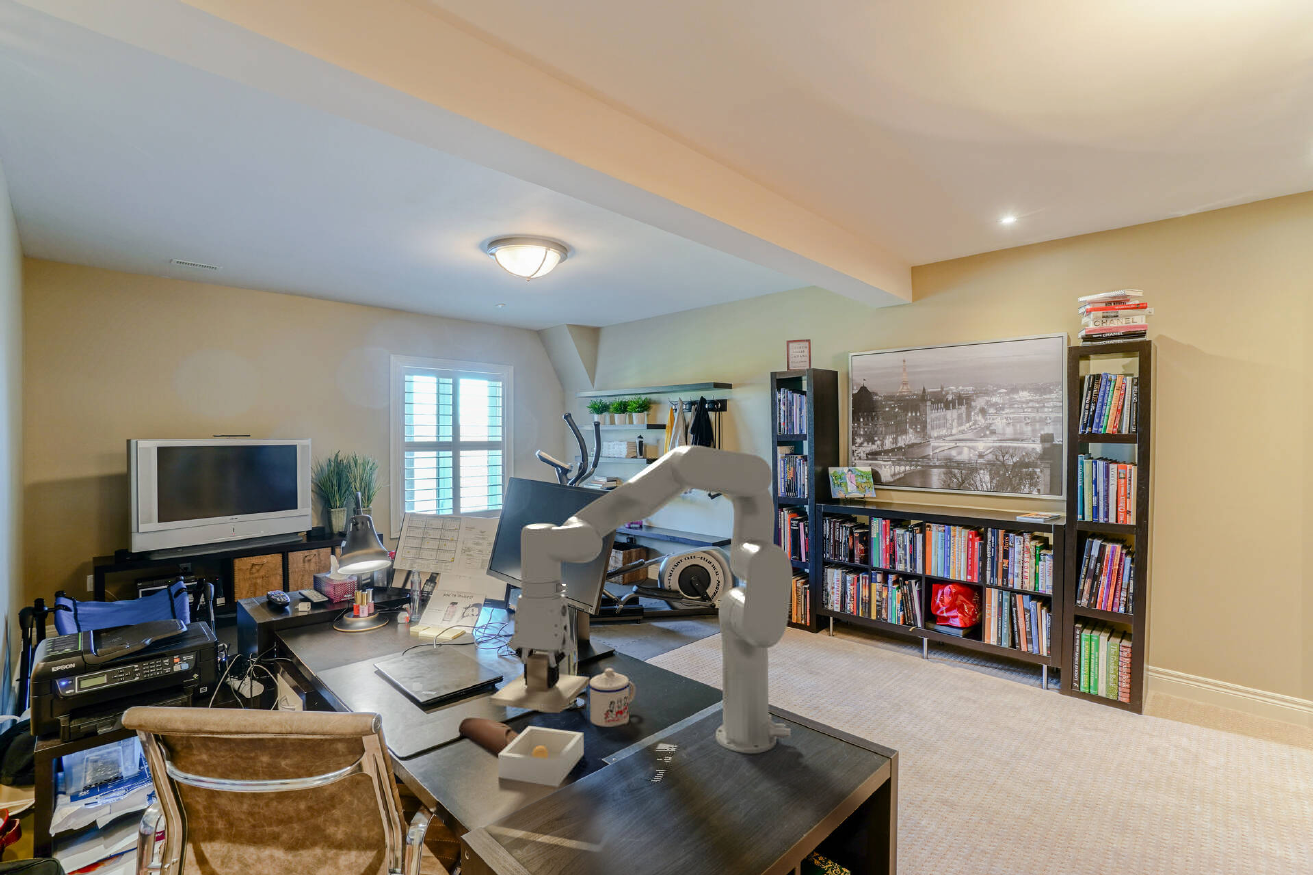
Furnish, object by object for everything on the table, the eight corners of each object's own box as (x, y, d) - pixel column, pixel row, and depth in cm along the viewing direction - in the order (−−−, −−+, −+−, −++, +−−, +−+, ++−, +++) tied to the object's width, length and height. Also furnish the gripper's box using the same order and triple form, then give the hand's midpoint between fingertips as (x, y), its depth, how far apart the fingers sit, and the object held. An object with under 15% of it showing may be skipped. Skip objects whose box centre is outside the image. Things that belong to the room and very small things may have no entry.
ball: (550, 759, 122) (550, 743, 122) (543, 766, 119) (543, 751, 119) (536, 757, 123) (536, 741, 123) (529, 764, 120) (529, 749, 120)
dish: (583, 758, 124) (583, 732, 124) (557, 790, 112) (557, 762, 112) (529, 750, 127) (528, 725, 127) (498, 781, 116) (498, 754, 116)
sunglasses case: (539, 747, 128) (525, 725, 126) (514, 776, 124) (499, 754, 121) (492, 721, 140) (478, 700, 138) (468, 747, 136) (453, 725, 134)
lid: (589, 683, 124) (589, 647, 125) (559, 712, 111) (559, 672, 111) (526, 676, 128) (525, 641, 128) (489, 704, 115) (489, 664, 115)
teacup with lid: (607, 734, 134) (606, 680, 134) (581, 721, 140) (580, 669, 140) (647, 717, 142) (647, 665, 142) (621, 705, 148) (621, 656, 149)
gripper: (589, 586, 121) (589, 681, 121) (511, 582, 126) (512, 672, 126) (573, 596, 114) (573, 696, 114) (492, 590, 119) (492, 687, 118)
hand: (541, 683), depth 120 cm, fingers closed on lid, 4 cm apart
